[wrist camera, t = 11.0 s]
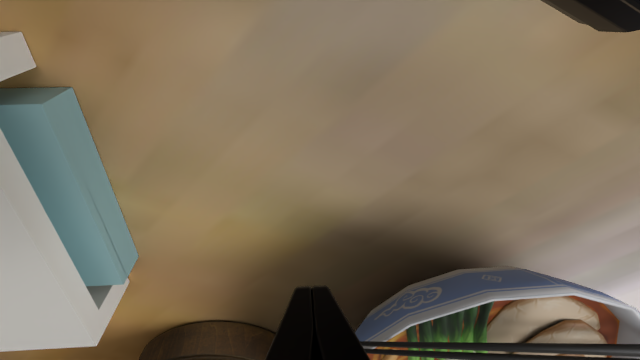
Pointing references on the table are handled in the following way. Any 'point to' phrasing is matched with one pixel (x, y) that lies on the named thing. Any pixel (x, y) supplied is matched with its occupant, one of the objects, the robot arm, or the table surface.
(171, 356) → the wooden container
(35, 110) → the light blue slab
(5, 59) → the white box
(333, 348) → the robot arm
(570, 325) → the ramen bowl
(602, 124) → the table surface
